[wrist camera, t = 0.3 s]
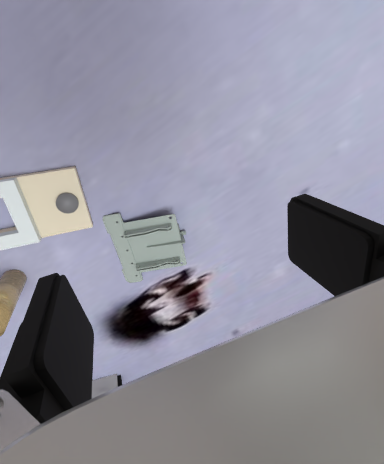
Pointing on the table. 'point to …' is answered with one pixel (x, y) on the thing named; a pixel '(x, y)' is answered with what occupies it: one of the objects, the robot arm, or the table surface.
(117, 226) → the metal bracket
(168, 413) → the robot arm
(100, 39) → the table surface
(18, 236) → the white peg board
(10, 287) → the brass pin
